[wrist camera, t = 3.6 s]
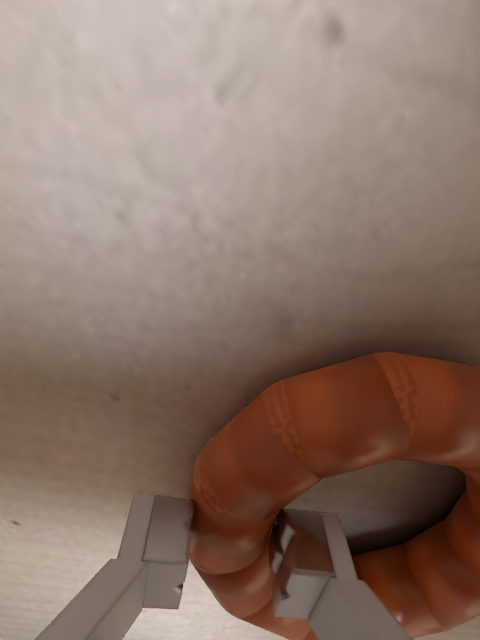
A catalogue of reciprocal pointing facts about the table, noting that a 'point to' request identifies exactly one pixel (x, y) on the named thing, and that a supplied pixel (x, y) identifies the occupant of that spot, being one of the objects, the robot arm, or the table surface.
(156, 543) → the robot arm
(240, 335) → the table surface
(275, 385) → the orange beaded ring
